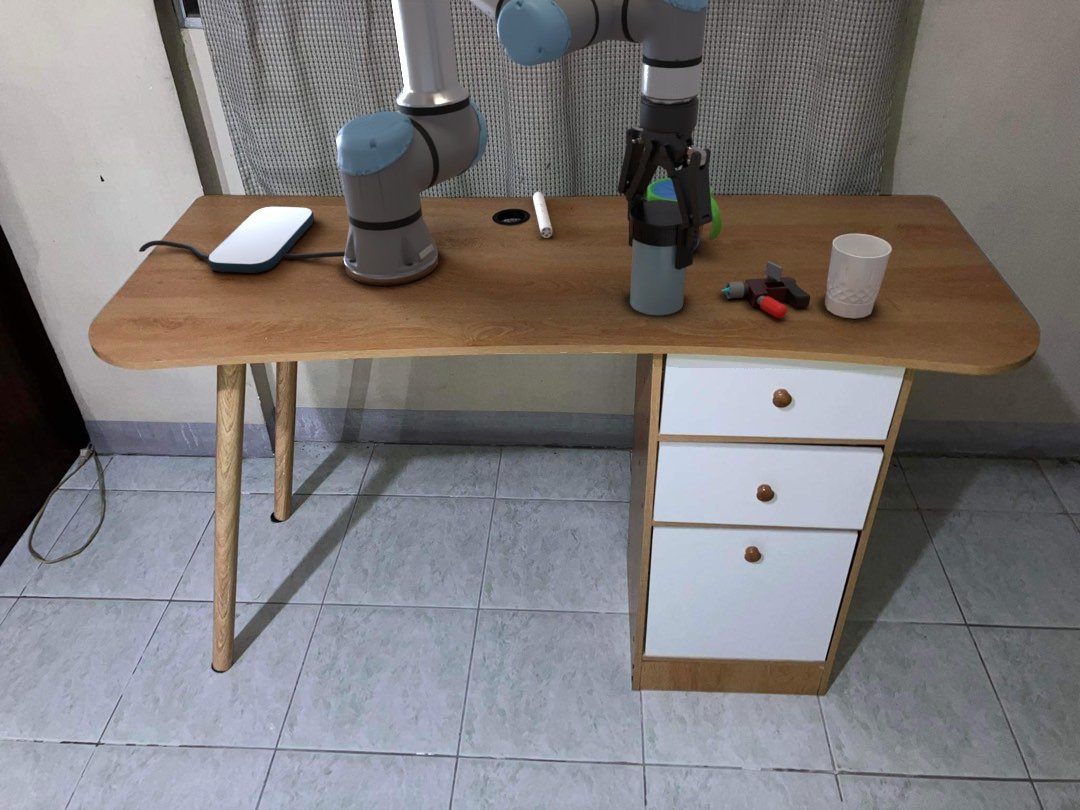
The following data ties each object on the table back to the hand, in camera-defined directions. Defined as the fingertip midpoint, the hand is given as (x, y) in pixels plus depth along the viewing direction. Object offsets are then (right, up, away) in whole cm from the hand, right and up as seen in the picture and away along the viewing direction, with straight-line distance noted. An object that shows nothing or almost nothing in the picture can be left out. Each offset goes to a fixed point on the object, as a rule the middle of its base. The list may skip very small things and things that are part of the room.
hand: (659, 254), depth 121 cm
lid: (0, +5, -3) cm, 6 cm away
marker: (-17, +12, +31) cm, 38 cm away
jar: (0, -6, +5) cm, 8 cm away
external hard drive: (-66, +6, +25) cm, 71 cm away
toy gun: (+16, -7, +3) cm, 18 cm away
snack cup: (+6, +5, +20) cm, 22 cm away
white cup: (+28, -8, +2) cm, 29 cm away
